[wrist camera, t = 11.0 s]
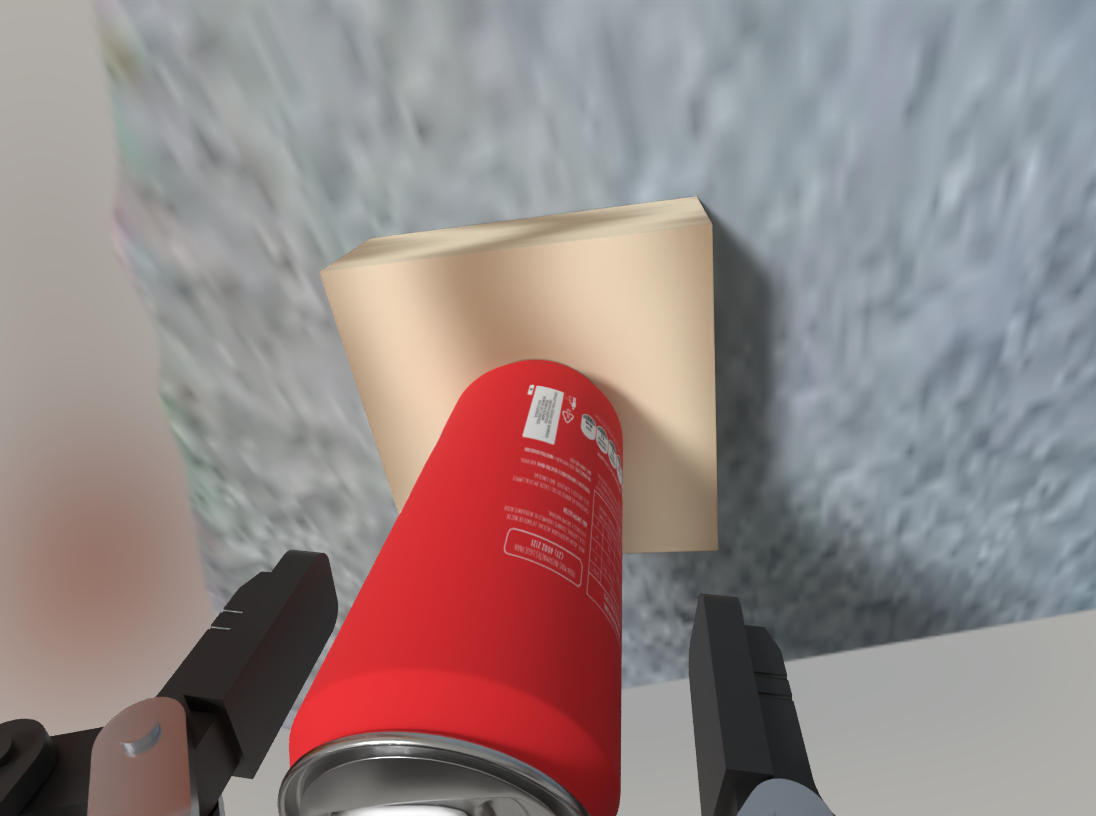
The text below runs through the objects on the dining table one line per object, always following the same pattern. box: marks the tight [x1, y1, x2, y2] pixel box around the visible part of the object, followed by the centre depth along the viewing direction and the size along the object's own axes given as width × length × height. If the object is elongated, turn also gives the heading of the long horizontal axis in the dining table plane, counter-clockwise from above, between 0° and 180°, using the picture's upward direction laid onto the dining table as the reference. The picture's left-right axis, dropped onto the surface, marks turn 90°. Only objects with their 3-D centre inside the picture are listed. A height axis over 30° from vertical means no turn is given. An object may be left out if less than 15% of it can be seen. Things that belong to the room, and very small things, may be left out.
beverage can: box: [278, 359, 623, 816], centre depth 14 cm, size 5×5×12 cm
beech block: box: [320, 196, 718, 554], centre depth 21 cm, size 11×11×4 cm
